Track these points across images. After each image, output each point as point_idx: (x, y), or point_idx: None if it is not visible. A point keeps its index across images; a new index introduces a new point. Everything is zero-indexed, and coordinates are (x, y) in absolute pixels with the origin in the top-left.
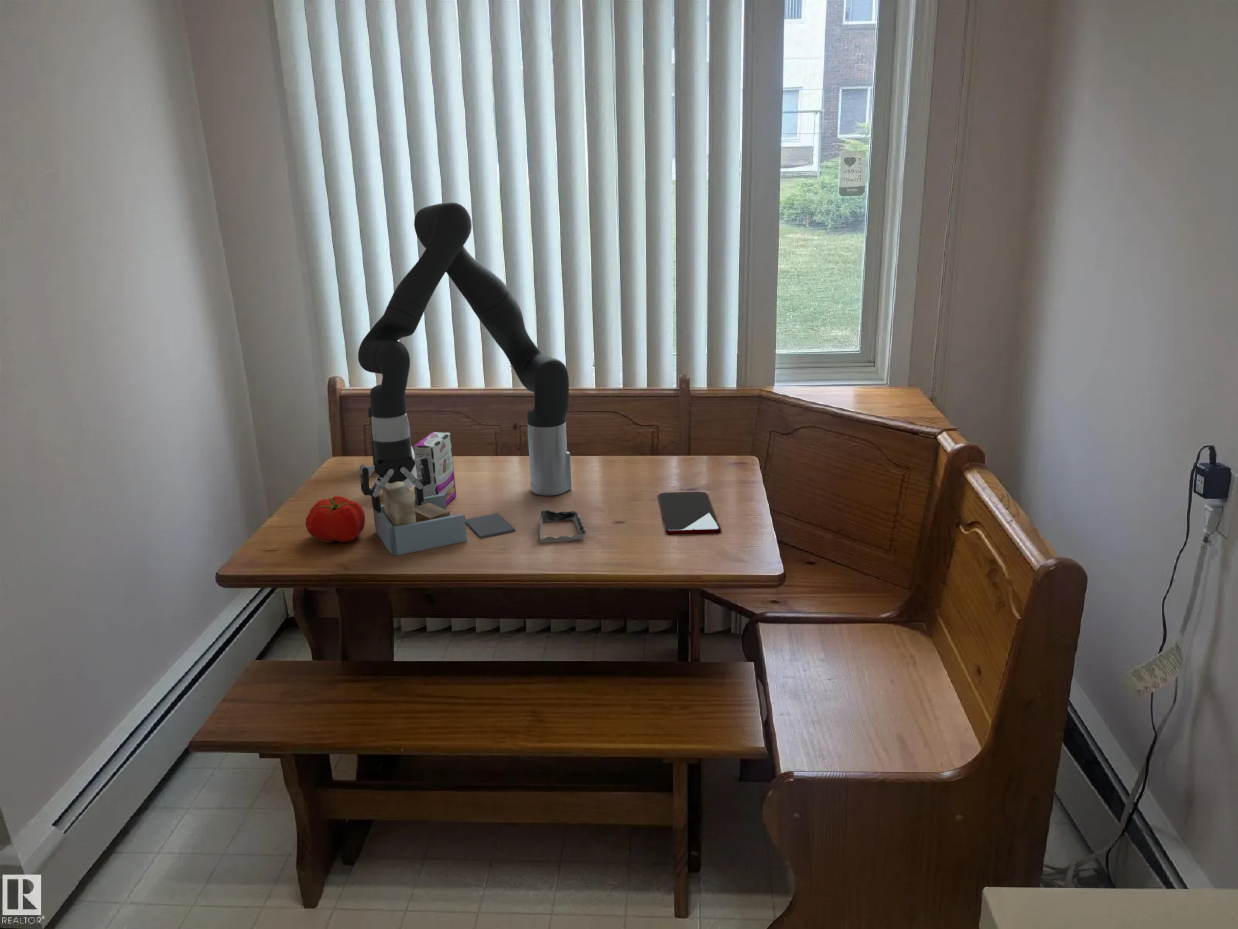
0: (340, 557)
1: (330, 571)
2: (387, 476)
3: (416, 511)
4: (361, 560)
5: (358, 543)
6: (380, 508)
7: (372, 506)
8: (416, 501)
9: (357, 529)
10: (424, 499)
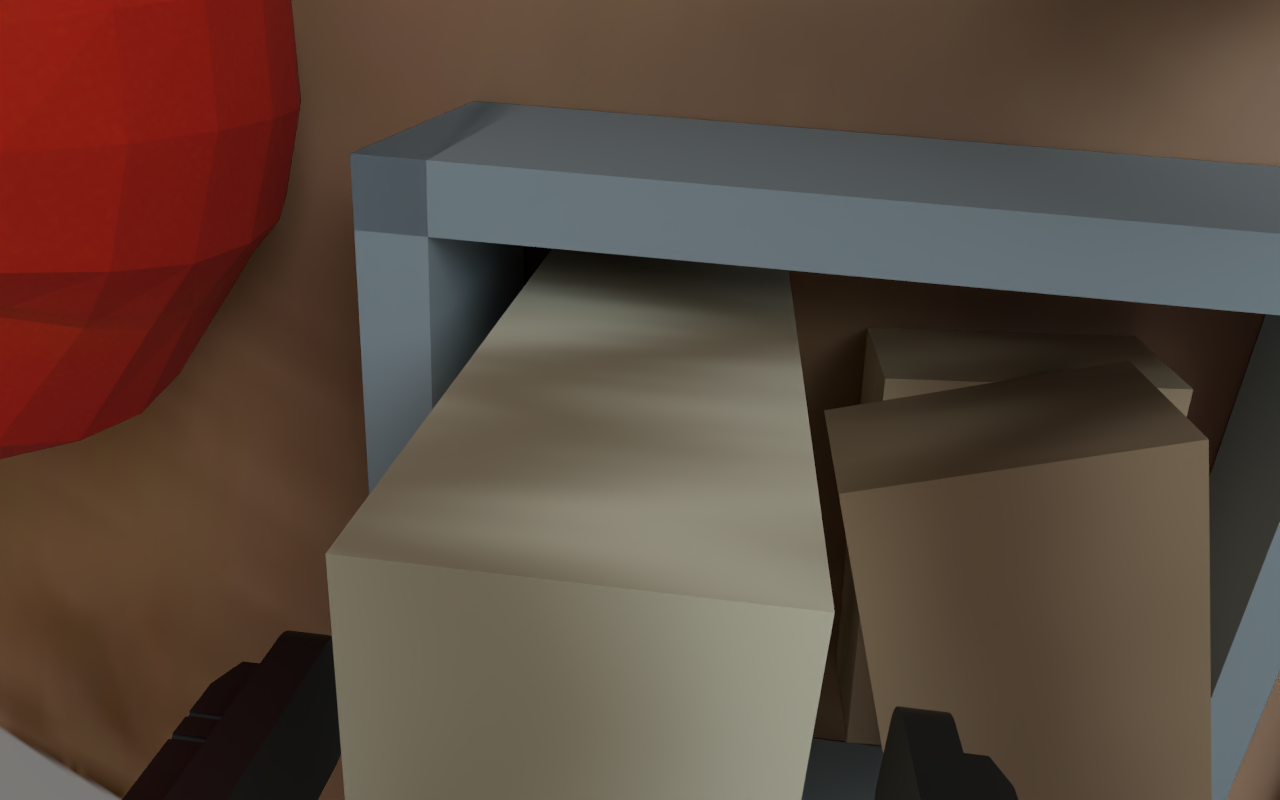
0: (77, 511)
1: (3, 694)
2: None
3: (872, 633)
4: (236, 655)
5: (252, 306)
6: (312, 794)
7: (206, 697)
8: (893, 780)
9: (173, 371)
10: (1219, 309)
